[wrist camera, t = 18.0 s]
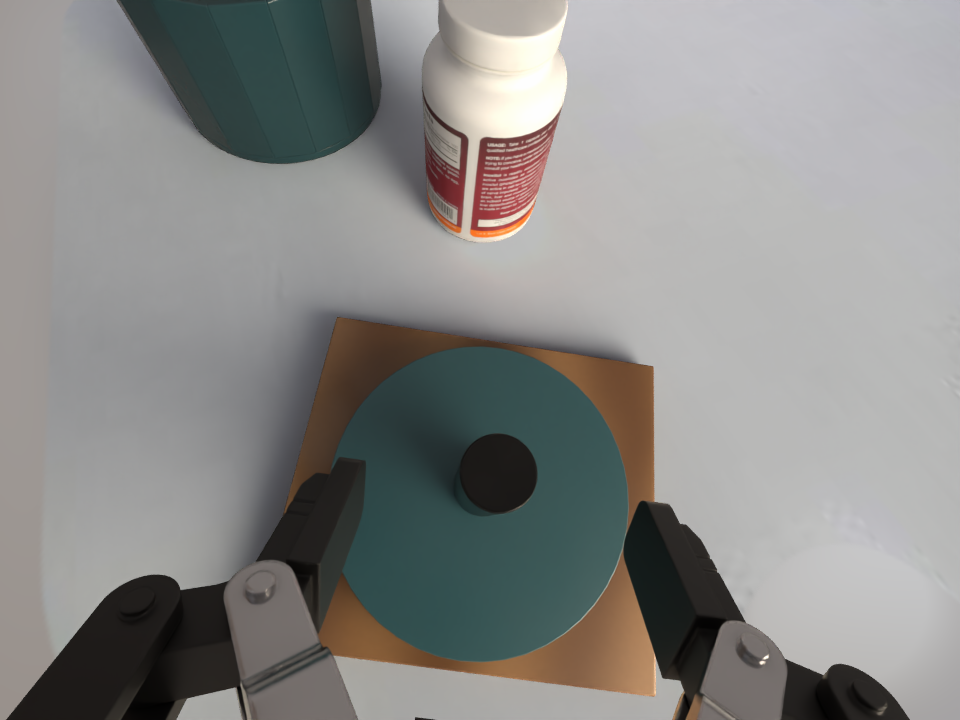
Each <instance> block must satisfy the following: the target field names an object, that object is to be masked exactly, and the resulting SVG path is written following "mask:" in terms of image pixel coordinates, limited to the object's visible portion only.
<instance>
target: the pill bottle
mask: <svg viewBox="0 0 960 720" xmlns="http://www.w3.org/2000/svg"><path fill="white" fill-rule="evenodd" d="M567 9H568V2H567V0H439V13H438V24H439V30H440V32H438V33H437V35H436V36H435V37H434V38H433V39H432V41H431V42H430V44H429V46H428V48H427V50H426V53H425V55H424V59H423V65H422V92H423V111H424V134H425V158H426V178H427V196H428V202H429V206H430V209H431V211H432V213H433V215H434V217H435V219H436V220H437V221H438V223H439V224H440V225H441V226H442V227H443V228H444V229H445V230H446V231H448V232H449V233H451V234H453V235H455V236H457V237H459V238H462V239H464V240H468V241H472V242H495V241H499V240H502V239H505V238H508V237H510V236H512V235H513V234H515V233H516V232H518V231H519V230H520V229H521V228H522V227H523V226H524V225H525V224H526V222H527V221H528V219H529V217H530V215H531V213H532V210H533V207H534V204H535V201H536V197H537V193H538V190H539V186H540V183H541V180H542V176H543V172H544V169H545V165H546V162H547V158H548V155H549V151H550V147H551V144H552V141H553V137H554V133H555V129H556V126H557V122H558V119H559V115H560V112H561V109H562V105H563V102H564V97H565V93H566V87H567V71H566V66H565V62H564V59H563V57H562V54H561V52H560V50H559V49H558V46H559V42H560V40H561V35H562V31H563V27H564V23H565V19H566V15H567Z"/></svg>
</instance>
